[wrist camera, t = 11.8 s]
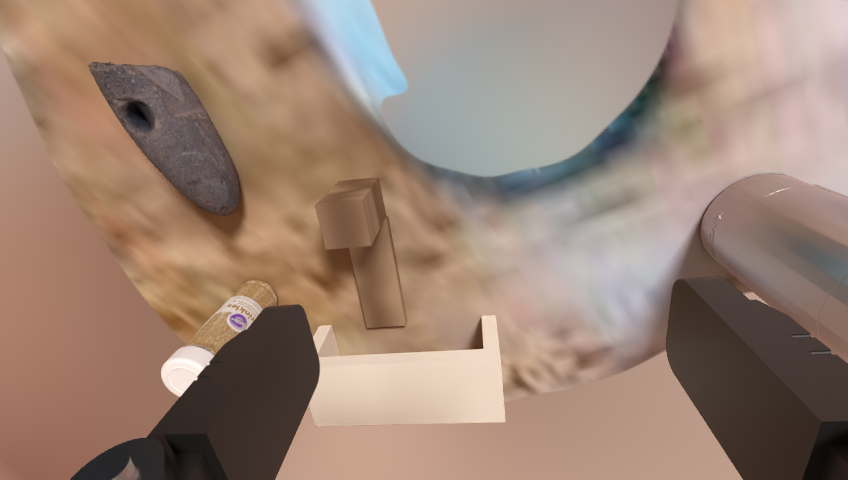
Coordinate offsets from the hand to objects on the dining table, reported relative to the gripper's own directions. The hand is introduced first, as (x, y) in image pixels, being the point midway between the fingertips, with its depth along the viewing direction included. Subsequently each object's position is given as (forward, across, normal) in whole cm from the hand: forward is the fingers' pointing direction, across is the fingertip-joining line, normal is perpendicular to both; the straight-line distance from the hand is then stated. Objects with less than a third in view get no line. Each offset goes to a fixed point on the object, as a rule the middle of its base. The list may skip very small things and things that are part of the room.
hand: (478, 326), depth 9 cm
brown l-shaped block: (+30, +11, +12) cm, 34 cm away
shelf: (+30, +9, +24) cm, 40 cm away
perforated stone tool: (+30, +25, -2) cm, 39 cm away
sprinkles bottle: (+30, +25, +16) cm, 42 cm away
